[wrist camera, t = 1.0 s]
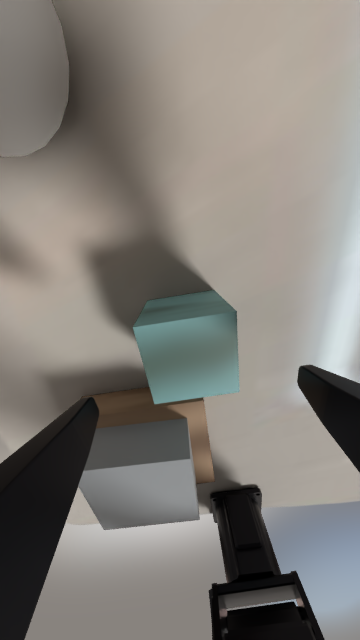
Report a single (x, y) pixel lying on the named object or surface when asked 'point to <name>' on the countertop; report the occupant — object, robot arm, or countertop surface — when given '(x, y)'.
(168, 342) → the teal block
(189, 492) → the grey block
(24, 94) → the can
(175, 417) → the walnut slab
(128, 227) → the countertop surface
